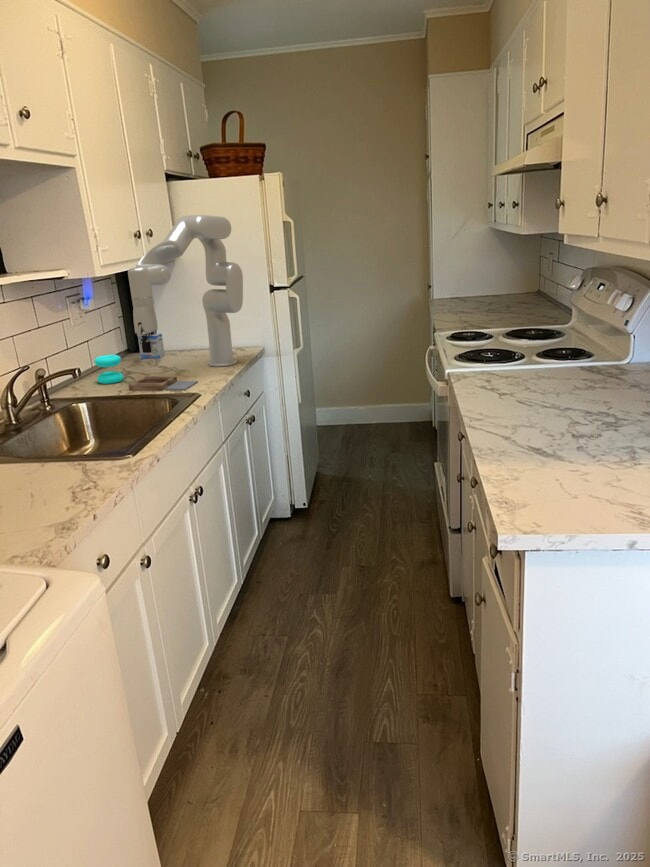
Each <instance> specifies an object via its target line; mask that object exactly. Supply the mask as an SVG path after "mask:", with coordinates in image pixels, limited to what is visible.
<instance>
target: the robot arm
mask: <svg viewBox="0 0 650 867" xmlns="http://www.w3.org/2000/svg"><path fill="white" fill-rule="evenodd" d="M231 233H232V225H231V222H230V220H229V219H227V218H226V217H225V216H216V215H215V216H214V215H206V214H194V215H193V214H192V215H191V214H190V215H183V216H180V218H179V219H178V220H176V222H175V224H174V226H173V227H172V229H171V230H169V232H168V233H167V235H166V236H165V238H164V239H163V240H162V241H161V242H160V243H158V244H157V245H155V246H153V247H152V248H151V249H150V250H148V251H146V252H145V254H143V255H142V257H141V258H140V259H139V261H138V262H137V263H136V266H133V267H131V268H129V269H128V270H127V276H128V282H129V288H130V289H129V290H130V295H131V296H130V297H131V302H132V307H133V310H132V312H133V313H132V316H133V318H132V319H133V326H134V334H136V336H137V338H138V337H139V338H140V340H141V343H142V349H143V353H151V345H150V342H149V334H158V333H157V331H158V320H157V313H156V308H155V306H154V305H155V300H154V294H153V288H152V286H164V285H166V284H167V283H169V281H170V280H171V277H172V275H171V271H170V269H169V267H167V265H164V264H166V263H168V262H171V261H174V260H176V259H178V258H180V257H182V256H183V255H184V253H185V252H186V250H187V249H188V247H189V246H190V244H191V243H192V242H193V240H194V239H198V240H199V241H200V243H201V244H202V246H203V249H204V255H205V256H204V257H205V281H206V282H207V283H208V285H211V286H215V287H225V289H223V288H221V289H220V288H211V289H208V290H206V291H205V292H204V293H203V295H202V298H201V299H202V300H201V302H202V306H203V310H204V313H205V318H206V326H207V334H208V337H207V338H208V346H209V355H210V360H208V361H207V366H209V367H217V368H218V367H228V366H230V367H231V366H234V365H236V364H237V363H238V360H237V359H236V358H234V350H233V345H232V344H233V343H232V342H233V341H232V333H231V322H230V318H229V316H228V315H227V314H236V313H238V312H240V311H241V309H242V307H243V302H244V301H243V300H244V284H243V283H244V275H243V271H242V269H241V266H240V265H239V264H238V263H237V262H232V261H231V262H229V261H227V249H226V246H225V244H224V243H223V241H222V240H225V239H227V238H229V237H230V235H231ZM143 335H146V337H145V336H143Z"/></svg>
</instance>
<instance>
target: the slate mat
mask: <svg viewBox="0 0 650 867" xmlns="http://www.w3.org/2000/svg"><path fill="white" fill-rule="evenodd" d="M198 383H199V381H198V380H177V382H175V383H174V384H172V385H170V386H169V387H167V388H165V389H164V390H165V391H187V390H189V389H190V388H191V387H193V386H195V385H196V384H198Z"/></svg>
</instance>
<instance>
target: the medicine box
mask: <svg viewBox="0 0 650 867" xmlns="http://www.w3.org/2000/svg"><path fill="white" fill-rule="evenodd" d="M143 336H145V337H146V335H143ZM137 339H138V340H137V341H138V347H139V354H140V355H139V356H140V359H141V360H155V359H159V360H160V359H163V358H164V357H165V354H166V353H165V348H164V340H163V339H164V338H163V334H162V333H156V334H149V342H150V345H151V353H143V349H142V343H141V340H140V338H139V337H138V336H137Z"/></svg>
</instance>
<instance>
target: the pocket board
mask: <svg viewBox="0 0 650 867" xmlns="http://www.w3.org/2000/svg"><path fill="white" fill-rule="evenodd" d="M177 381H178V376H155V375H154V376H146V375H145V376H144V377H142V378H140V379H138V380H136V381H134V382H132V383H130V384H129V385H128V390H129V391H131V392H133V391H134V392H135V391H140V392H141V391H142V392H143V391H145V392H149V391H150V392H156V391H157V392H162V391H164V390H165V388H167V387H169V386H170V385H172V384H174V383H175V382H177Z"/></svg>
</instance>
